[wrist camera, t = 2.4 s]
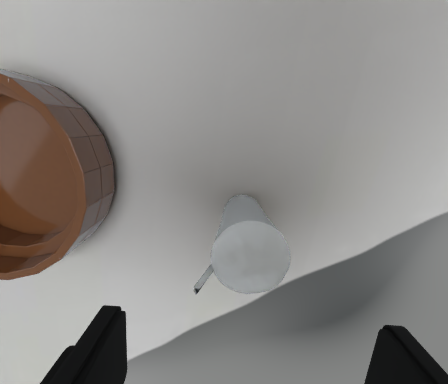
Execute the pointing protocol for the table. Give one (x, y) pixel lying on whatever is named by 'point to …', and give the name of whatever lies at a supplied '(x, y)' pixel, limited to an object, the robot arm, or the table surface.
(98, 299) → the table surface
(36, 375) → the table surface
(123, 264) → the table surface
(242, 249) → the milkshake
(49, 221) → the bowl
